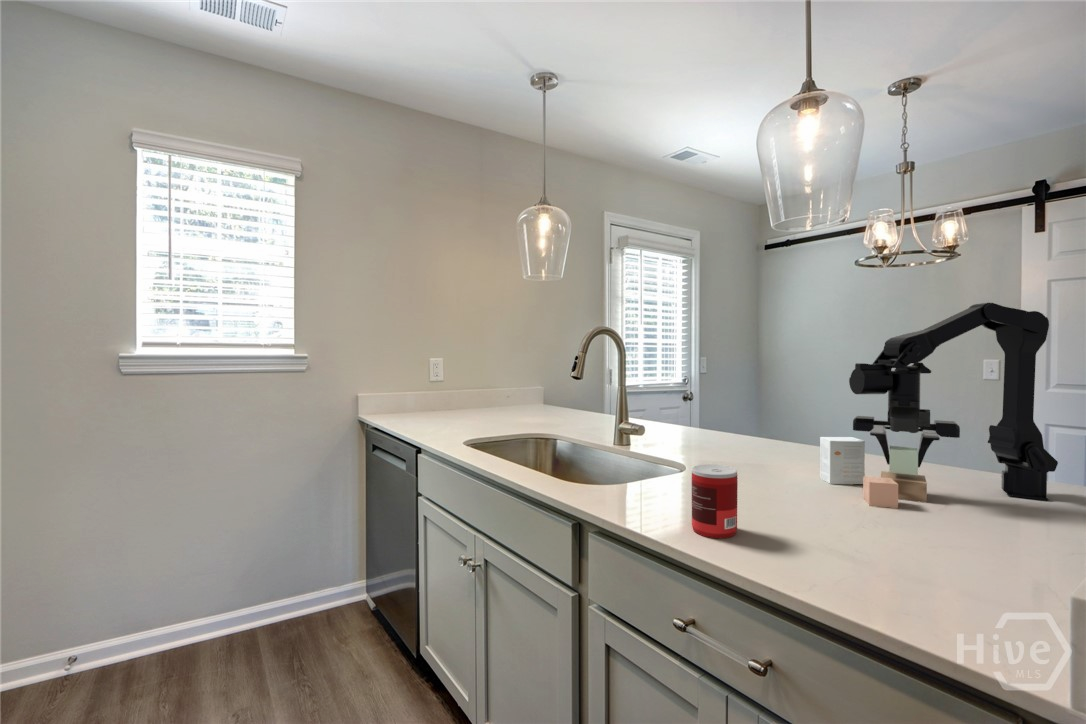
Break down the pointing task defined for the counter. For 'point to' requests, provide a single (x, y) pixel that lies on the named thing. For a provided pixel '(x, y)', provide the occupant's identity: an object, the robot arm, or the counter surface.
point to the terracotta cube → (880, 492)
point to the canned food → (714, 501)
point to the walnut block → (909, 485)
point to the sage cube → (903, 460)
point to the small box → (842, 460)
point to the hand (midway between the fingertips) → (903, 465)
